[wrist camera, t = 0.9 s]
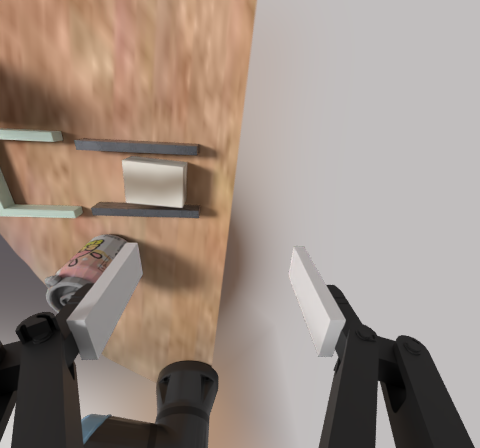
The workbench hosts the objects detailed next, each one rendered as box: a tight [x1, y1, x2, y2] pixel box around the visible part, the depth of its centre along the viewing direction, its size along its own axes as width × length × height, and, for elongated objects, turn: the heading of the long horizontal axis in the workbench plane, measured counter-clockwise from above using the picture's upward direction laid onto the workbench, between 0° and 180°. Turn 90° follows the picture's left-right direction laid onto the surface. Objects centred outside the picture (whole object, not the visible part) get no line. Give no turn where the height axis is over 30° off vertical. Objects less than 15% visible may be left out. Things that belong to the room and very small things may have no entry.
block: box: [122, 156, 187, 208], centre depth 34 cm, size 6×8×4 cm
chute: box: [74, 138, 200, 218], centre depth 34 cm, size 11×16×2 cm
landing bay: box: [0, 128, 83, 218], centre depth 33 cm, size 12×11×2 cm
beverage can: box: [45, 234, 128, 313], centre depth 35 cm, size 9×8×12 cm
